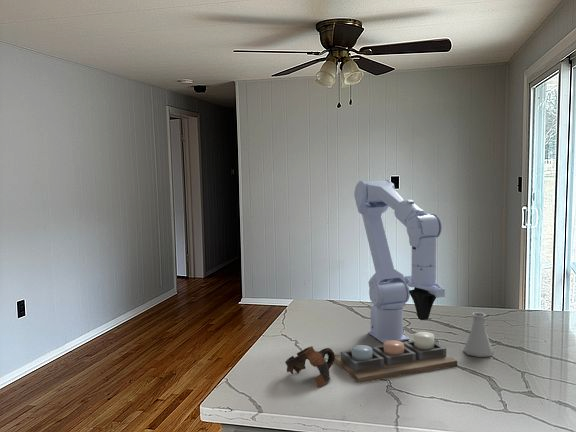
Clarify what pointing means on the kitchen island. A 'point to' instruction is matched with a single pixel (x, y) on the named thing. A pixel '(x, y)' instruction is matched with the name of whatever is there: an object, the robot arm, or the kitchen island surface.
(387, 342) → the terracotta key
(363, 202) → the robot arm
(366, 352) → the pale blue dome
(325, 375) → the brown animal figure
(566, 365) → the kitchen island surface
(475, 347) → the flask
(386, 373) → the three-slot key tray
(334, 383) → the kitchen island surface
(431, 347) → the cream rounded piece
